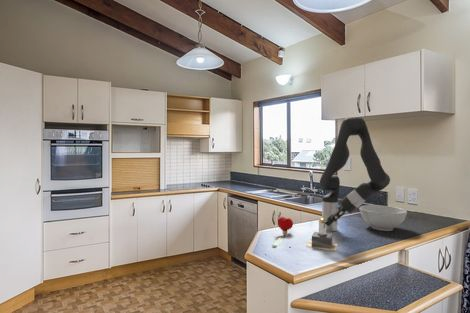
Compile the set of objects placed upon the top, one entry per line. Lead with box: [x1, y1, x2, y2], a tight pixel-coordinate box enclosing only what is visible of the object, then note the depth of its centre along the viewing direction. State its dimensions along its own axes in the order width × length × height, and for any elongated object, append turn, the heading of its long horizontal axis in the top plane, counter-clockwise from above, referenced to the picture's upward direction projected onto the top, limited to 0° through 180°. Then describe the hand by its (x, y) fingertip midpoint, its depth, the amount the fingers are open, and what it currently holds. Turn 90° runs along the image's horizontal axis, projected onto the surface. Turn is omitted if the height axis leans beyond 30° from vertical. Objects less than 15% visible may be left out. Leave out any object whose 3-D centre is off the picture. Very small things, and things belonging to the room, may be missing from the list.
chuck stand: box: [305, 231, 338, 252], centre depth 155 cm, size 14×14×6 cm
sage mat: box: [272, 237, 285, 248], centre depth 159 cm, size 14×12×1 cm
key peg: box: [318, 217, 327, 236], centre depth 155 cm, size 4×4×13 cm
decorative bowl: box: [358, 204, 408, 232], centre depth 194 cm, size 27×27×12 cm
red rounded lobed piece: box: [277, 216, 294, 236], centre depth 176 cm, size 9×7×10 cm
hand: (327, 222), depth 154 cm, fingers open, 8 cm apart
